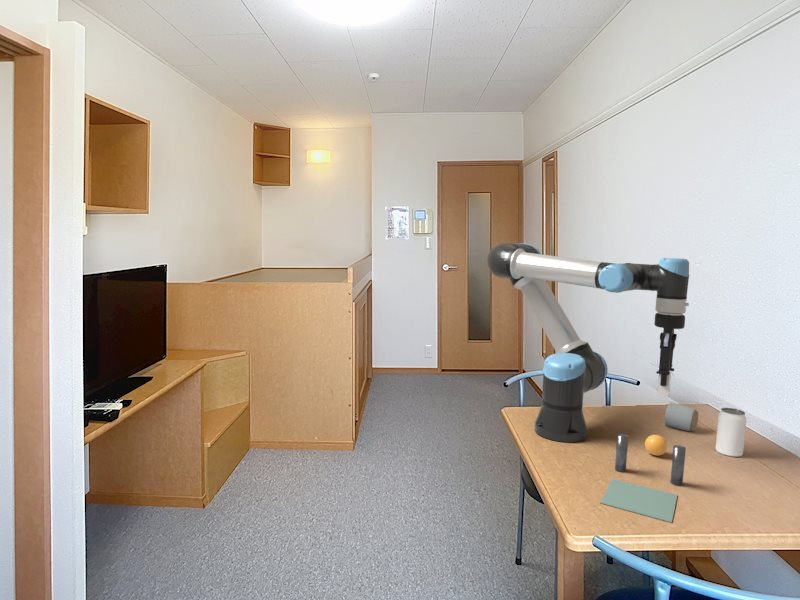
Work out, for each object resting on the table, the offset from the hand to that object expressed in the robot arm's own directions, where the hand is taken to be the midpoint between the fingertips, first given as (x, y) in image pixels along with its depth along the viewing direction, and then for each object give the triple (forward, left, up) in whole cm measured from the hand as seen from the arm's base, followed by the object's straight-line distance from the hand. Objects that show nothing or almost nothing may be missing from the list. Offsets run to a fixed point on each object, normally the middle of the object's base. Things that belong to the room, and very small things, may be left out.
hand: (663, 394), depth 147 cm
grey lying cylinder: (+4, +20, -15) cm, 25 cm away
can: (+17, +5, -15) cm, 23 cm away
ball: (0, -9, -12) cm, 15 cm away
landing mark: (0, -39, -15) cm, 42 cm away
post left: (-6, -25, -15) cm, 30 cm away
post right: (+6, -25, -15) cm, 30 cm away
